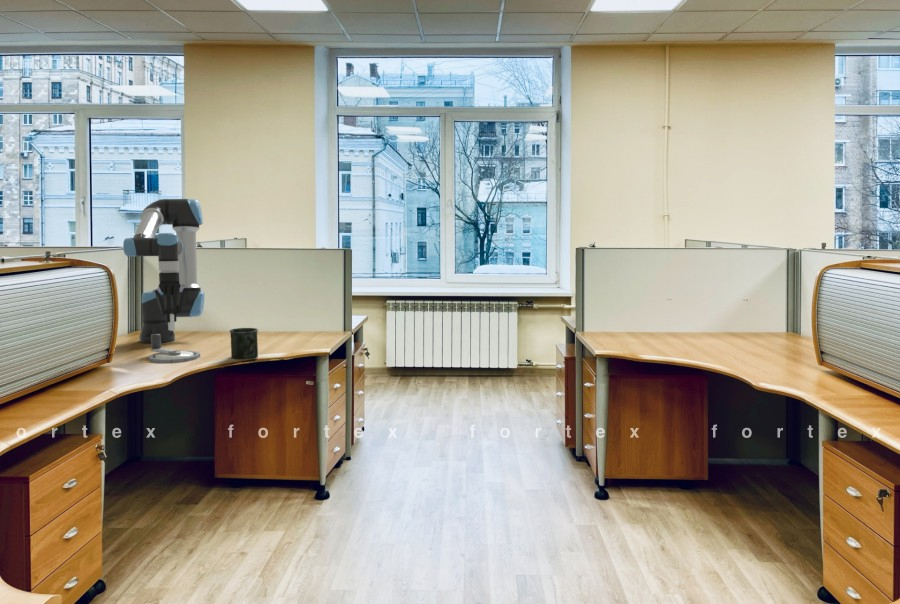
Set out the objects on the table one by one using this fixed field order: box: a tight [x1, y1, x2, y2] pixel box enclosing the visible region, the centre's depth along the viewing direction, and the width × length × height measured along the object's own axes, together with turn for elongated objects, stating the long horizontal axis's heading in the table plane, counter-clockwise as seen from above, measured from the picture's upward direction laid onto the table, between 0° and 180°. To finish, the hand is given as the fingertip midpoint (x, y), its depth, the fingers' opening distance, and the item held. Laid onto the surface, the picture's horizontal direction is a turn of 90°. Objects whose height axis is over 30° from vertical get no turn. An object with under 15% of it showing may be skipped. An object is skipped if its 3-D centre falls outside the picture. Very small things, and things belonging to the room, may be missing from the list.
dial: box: [150, 334, 194, 359], centre depth 279 cm, size 20×14×8 cm
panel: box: [140, 350, 201, 364], centre depth 278 cm, size 26×26×2 cm
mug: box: [228, 327, 259, 363], centre depth 278 cm, size 11×15×12 cm
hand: (171, 330), depth 286 cm, fingers closed
